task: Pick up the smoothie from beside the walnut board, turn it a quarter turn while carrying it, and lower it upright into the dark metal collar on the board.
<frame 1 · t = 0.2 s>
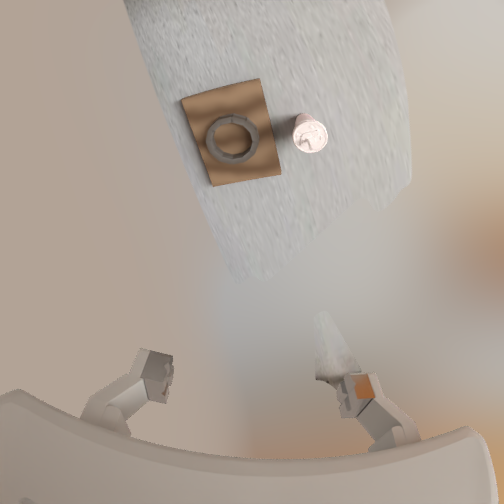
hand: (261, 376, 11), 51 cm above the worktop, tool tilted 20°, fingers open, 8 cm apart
smoothie: (304, 121, 51), on the worktop
stand: (234, 133, 54), on the worktop
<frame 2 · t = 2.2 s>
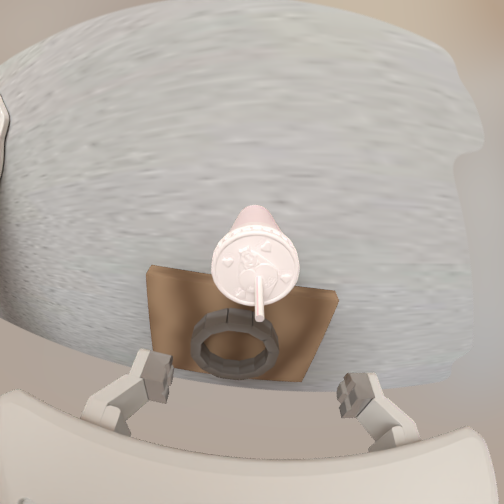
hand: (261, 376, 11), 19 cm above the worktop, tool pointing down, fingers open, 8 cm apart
smoothie: (254, 221, 28), on the worktop
stand: (235, 329, 35), on the worktop
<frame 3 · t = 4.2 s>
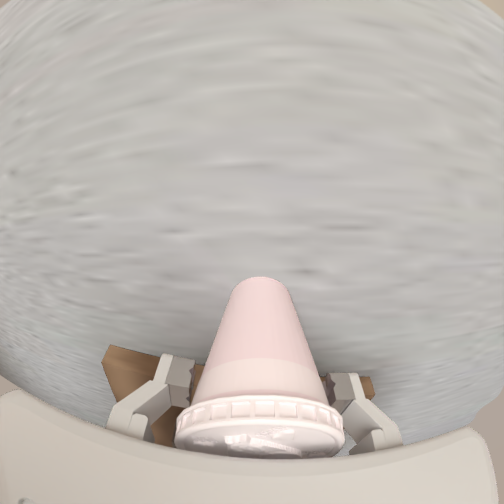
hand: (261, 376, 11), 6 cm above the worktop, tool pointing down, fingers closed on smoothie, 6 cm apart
smoothie: (260, 300, 17), on the worktop, touching gripper
stand: (232, 416, 23), on the worktop
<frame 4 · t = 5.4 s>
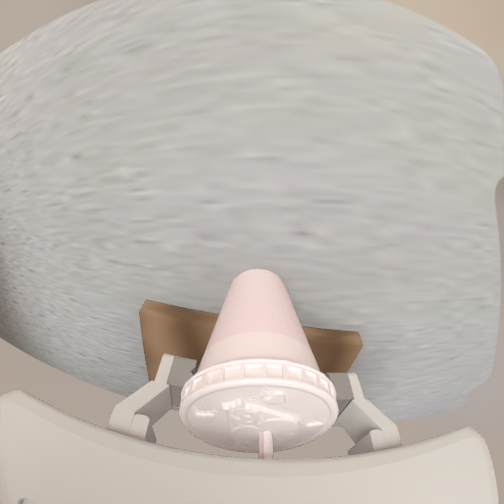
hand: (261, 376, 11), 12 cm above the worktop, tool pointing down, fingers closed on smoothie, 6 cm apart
smoothie: (257, 292, 18), point 5 cm above the worktop, touching gripper
stand: (243, 370, 29), on the worktop
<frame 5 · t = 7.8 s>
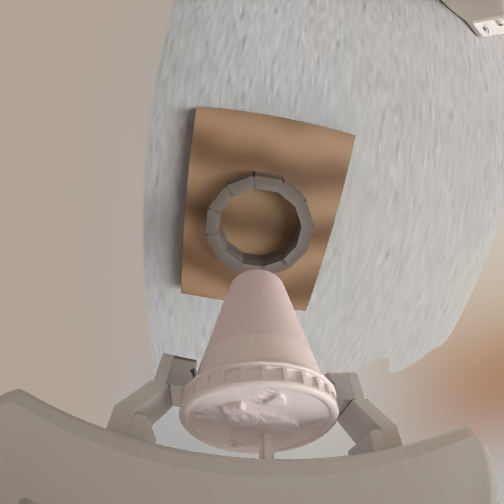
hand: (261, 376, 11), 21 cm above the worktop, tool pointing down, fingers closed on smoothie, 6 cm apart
smoothie: (256, 292, 18), point 14 cm above the worktop, touching gripper
stand: (259, 214, 30), on the worktop
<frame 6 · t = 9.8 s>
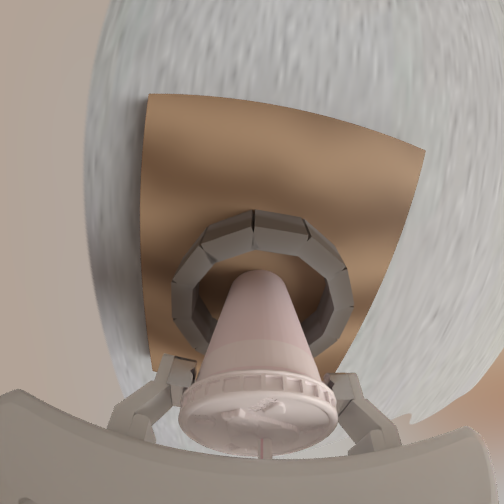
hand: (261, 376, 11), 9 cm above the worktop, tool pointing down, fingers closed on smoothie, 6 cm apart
smoothie: (258, 292, 18), point 2 cm above the worktop, touching gripper, stand
stand: (261, 273, 19), on the worktop
when the fingers open (9 cm above the worktop, at t = 10.4 s): smoothie stays where it is, resting on stand.
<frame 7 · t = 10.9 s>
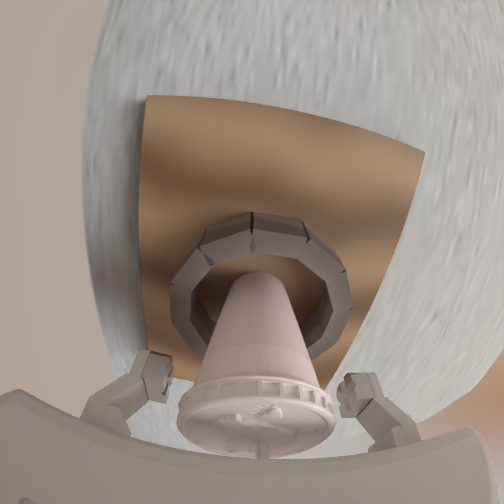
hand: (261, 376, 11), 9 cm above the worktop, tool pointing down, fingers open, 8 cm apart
smoothie: (257, 294, 18), point 2 cm above the worktop, touching stand
stand: (260, 275, 19), on the worktop
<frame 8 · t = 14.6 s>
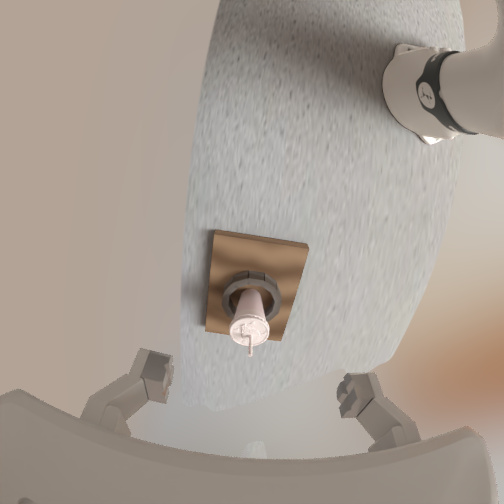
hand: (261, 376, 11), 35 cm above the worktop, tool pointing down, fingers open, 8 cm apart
smoothie: (250, 296, 50), point 2 cm above the worktop, touching stand
stand: (251, 289, 52), on the worktop
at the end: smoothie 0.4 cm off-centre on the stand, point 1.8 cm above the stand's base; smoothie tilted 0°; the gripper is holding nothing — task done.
